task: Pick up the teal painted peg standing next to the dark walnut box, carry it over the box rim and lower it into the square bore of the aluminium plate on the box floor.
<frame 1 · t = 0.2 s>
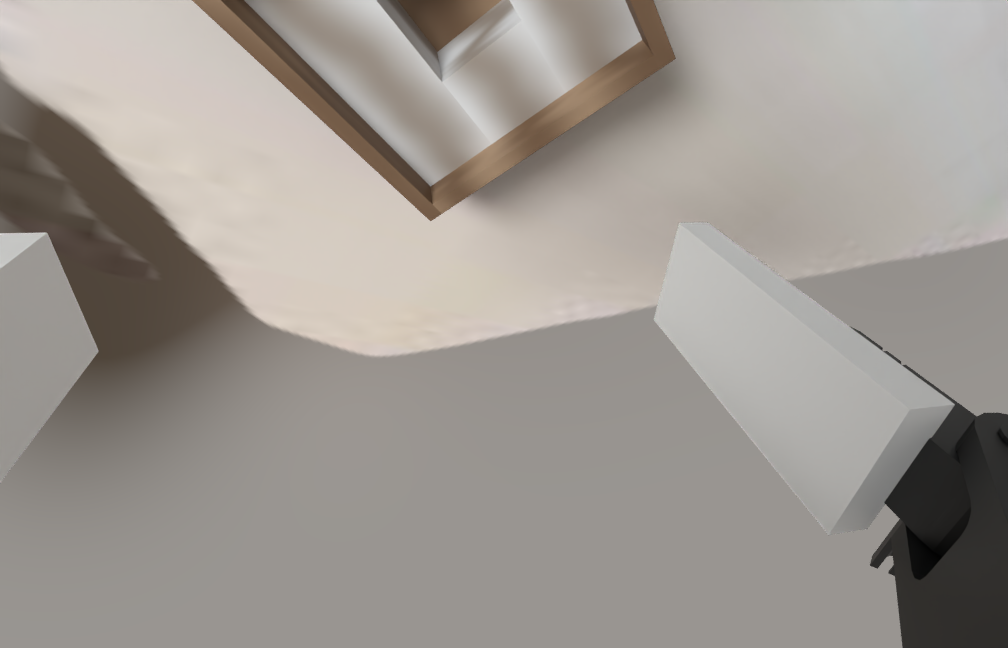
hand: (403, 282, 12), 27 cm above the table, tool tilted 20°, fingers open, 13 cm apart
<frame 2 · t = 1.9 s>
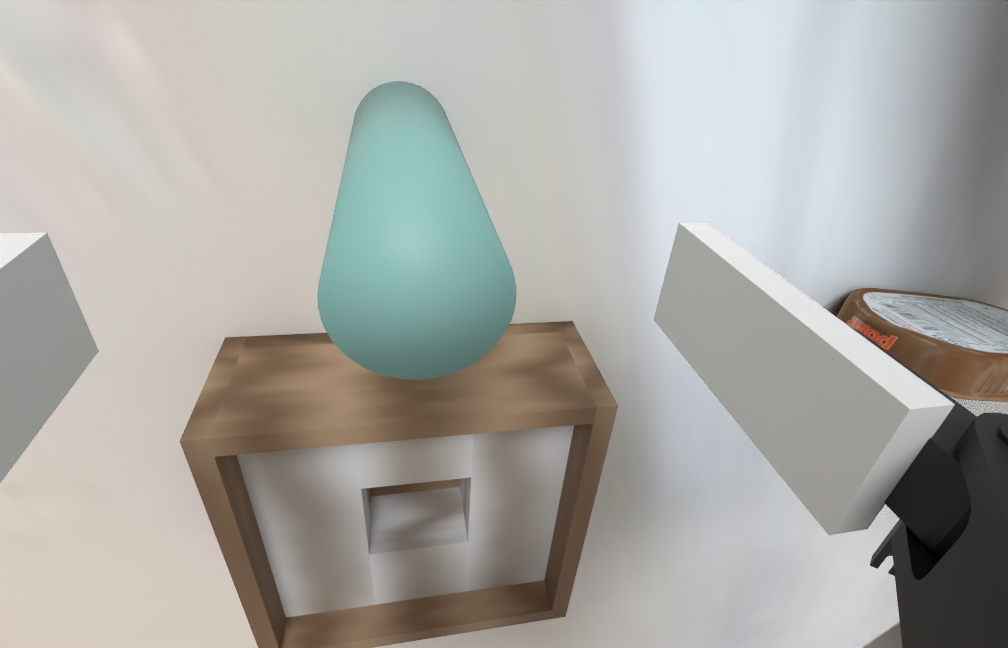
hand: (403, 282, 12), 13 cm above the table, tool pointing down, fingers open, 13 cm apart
tin: (902, 303, 34), on the table
bore box: (414, 449, 32), on the table
peg: (402, 132, 22), on the table
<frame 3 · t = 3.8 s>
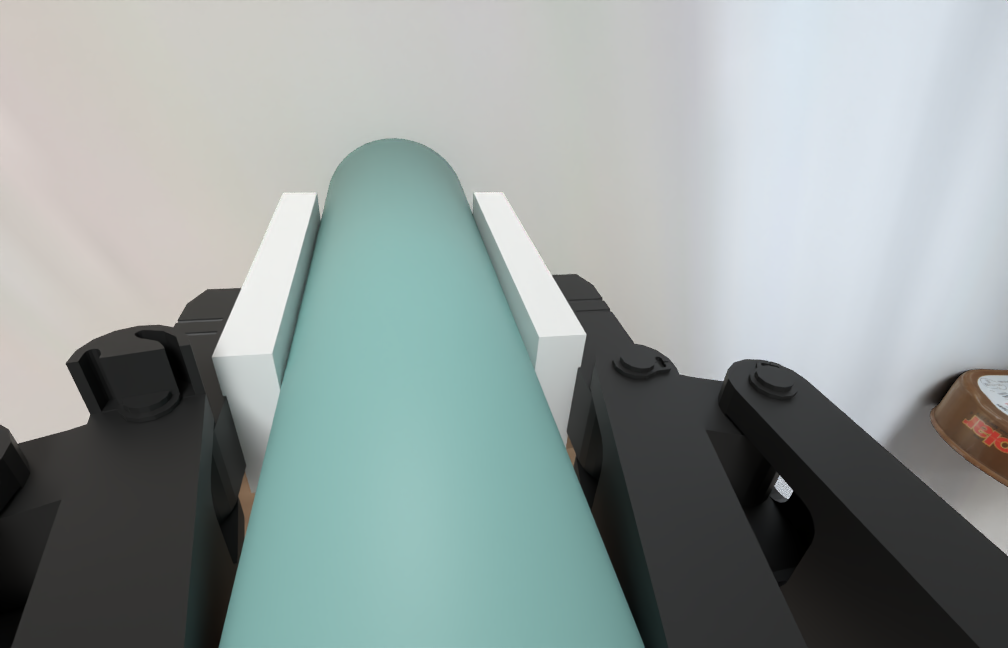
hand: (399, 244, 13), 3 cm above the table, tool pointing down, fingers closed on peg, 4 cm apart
bore box: (413, 576, 26), on the table
peg: (397, 207, 16), on the table, touching gripper
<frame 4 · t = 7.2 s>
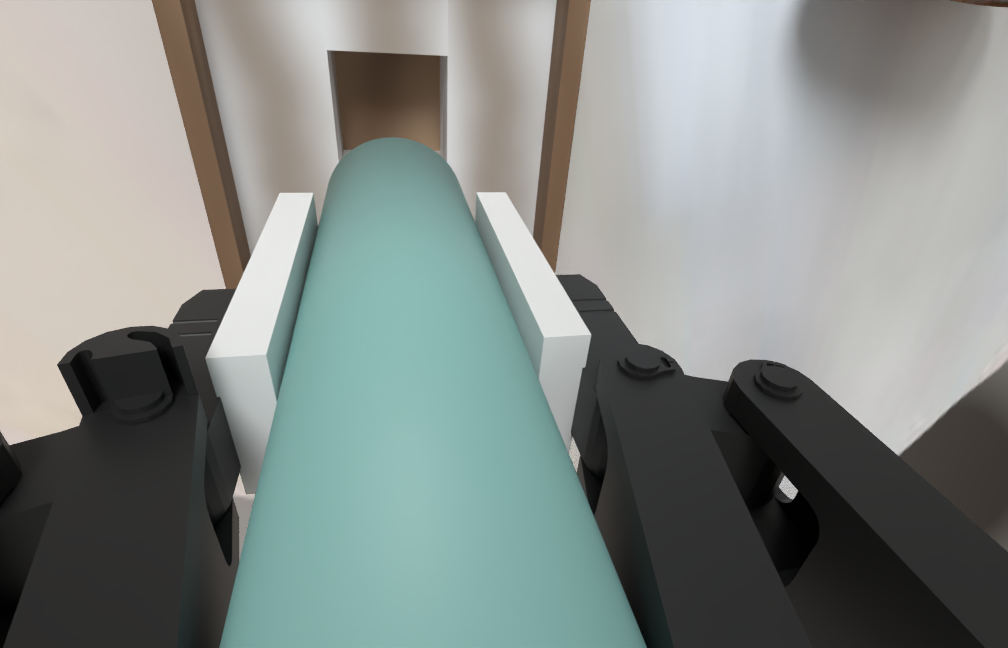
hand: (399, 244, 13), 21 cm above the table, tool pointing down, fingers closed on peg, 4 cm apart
bore box: (389, 96, 30), on the table
peg: (396, 206, 16), point 18 cm above the table, touching gripper
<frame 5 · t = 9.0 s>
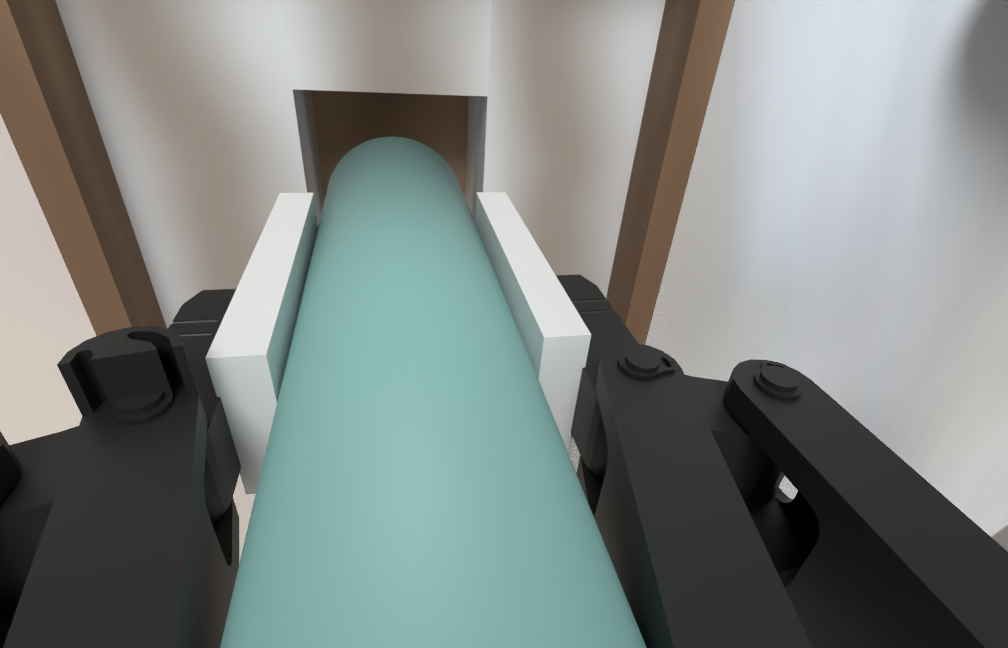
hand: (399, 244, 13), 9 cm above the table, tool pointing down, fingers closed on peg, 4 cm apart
bore box: (394, 145, 21), on the table
peg: (396, 205, 16), point 6 cm above the table, touching gripper
when the fingers open (6 cm above the table, at t = 10.6 s): peg stays where it is, resting on bore box.
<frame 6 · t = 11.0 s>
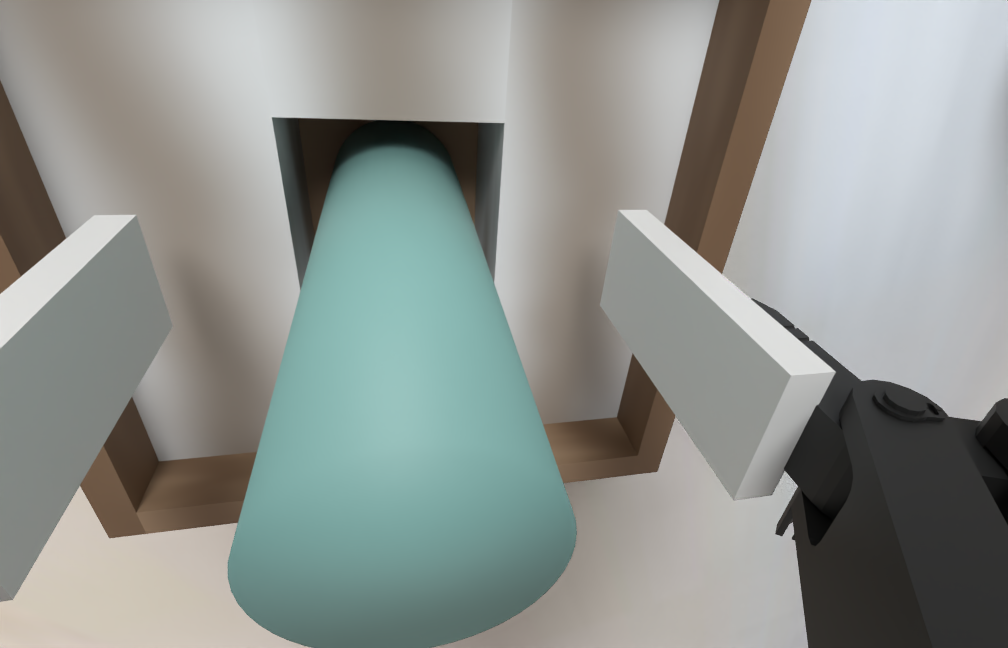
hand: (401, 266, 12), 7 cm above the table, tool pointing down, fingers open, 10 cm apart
bore box: (393, 172, 18), on the table
peg: (396, 180, 18), point 1 cm above the table, touching bore box
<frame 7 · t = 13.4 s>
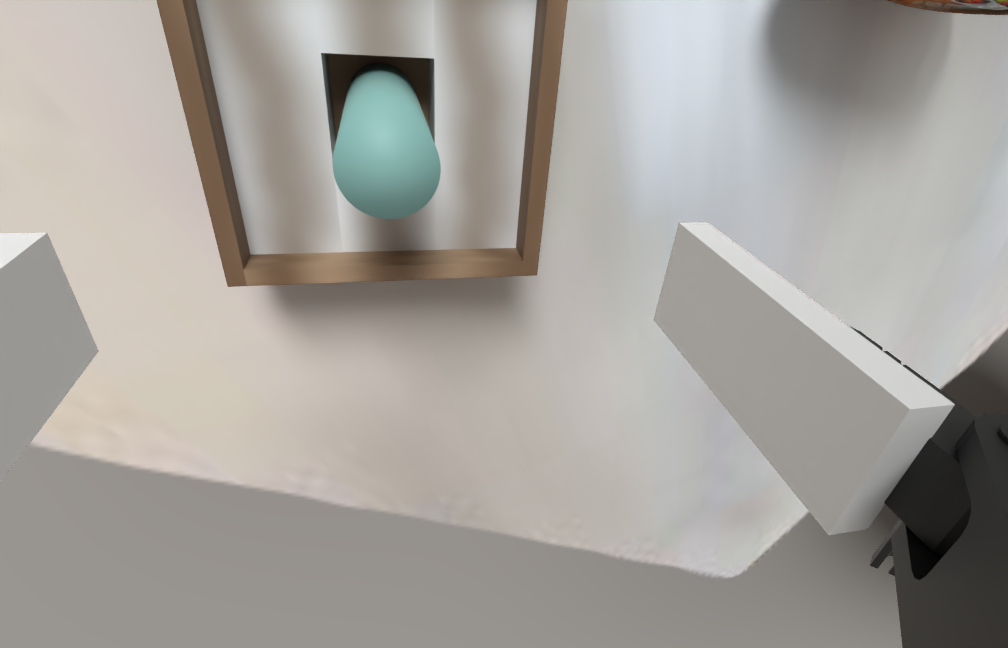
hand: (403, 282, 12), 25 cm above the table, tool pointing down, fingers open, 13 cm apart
bore box: (381, 97, 32), on the table
peg: (382, 99, 31), point 1 cm above the table, touching bore box
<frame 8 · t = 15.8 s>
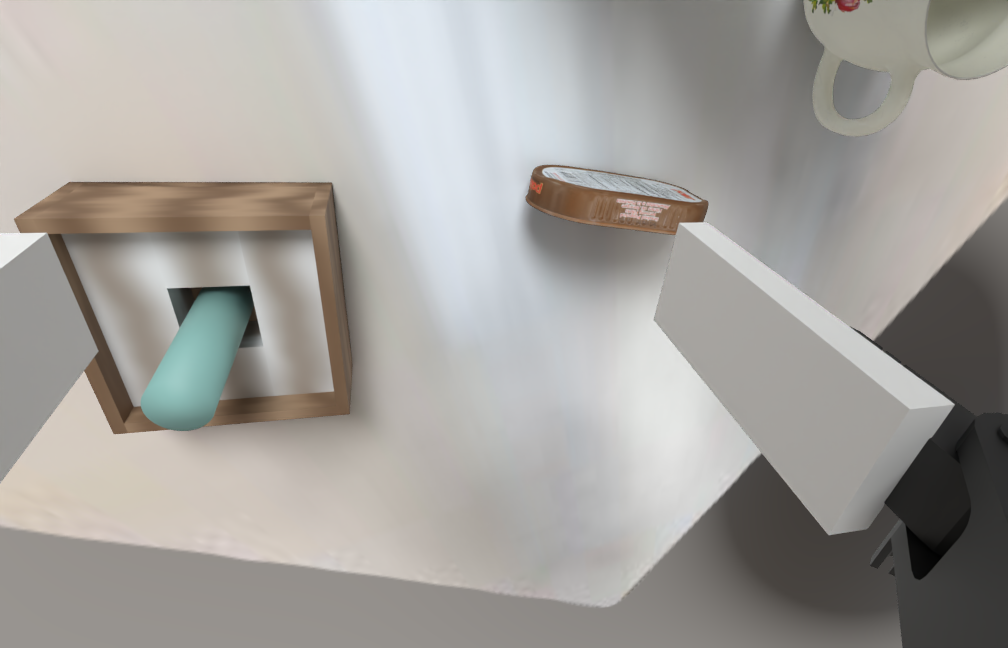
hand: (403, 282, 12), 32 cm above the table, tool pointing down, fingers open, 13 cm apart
tin: (599, 181, 46), on the table
bore box: (232, 287, 44), on the table
peg: (230, 293, 43), point 1 cm above the table, touching bore box
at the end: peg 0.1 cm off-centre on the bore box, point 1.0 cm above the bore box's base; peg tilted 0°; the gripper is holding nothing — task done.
